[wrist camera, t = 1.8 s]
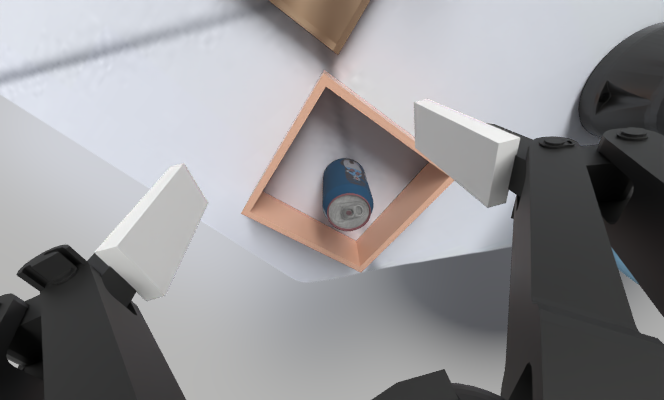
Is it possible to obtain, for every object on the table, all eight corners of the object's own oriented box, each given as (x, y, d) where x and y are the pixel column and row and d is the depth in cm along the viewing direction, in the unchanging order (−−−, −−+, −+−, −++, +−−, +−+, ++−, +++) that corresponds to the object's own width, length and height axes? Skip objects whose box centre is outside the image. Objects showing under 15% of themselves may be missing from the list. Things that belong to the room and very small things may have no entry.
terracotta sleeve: (440, 157, 41) (459, 174, 35) (357, 246, 51) (361, 272, 45) (324, 69, 35) (323, 73, 29) (252, 191, 44) (240, 213, 38)
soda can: (328, 196, 45) (329, 239, 34) (318, 160, 41) (316, 196, 31) (367, 188, 44) (379, 229, 34) (360, 151, 41) (371, 184, 30)
